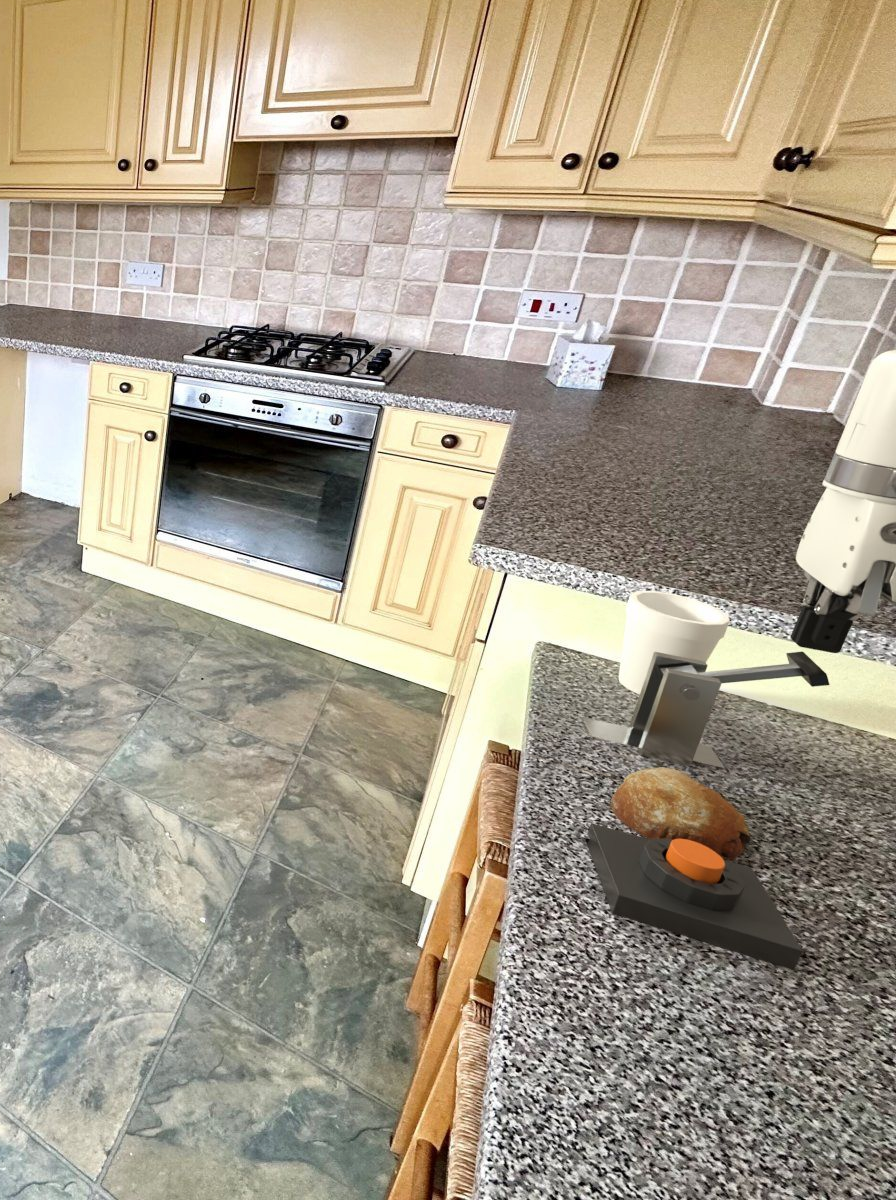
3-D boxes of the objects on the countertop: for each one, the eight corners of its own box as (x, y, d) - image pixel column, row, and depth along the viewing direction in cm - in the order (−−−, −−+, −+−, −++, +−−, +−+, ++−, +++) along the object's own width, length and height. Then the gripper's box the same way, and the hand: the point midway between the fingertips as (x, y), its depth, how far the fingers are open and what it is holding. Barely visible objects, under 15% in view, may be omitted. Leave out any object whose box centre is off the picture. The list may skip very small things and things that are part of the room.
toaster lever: (807, 666, 83) (801, 646, 83) (831, 690, 79) (825, 668, 79) (661, 680, 89) (655, 662, 89) (676, 703, 85) (670, 683, 85)
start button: (710, 862, 71) (716, 847, 70) (726, 890, 68) (732, 874, 67) (659, 848, 73) (665, 833, 72) (672, 874, 69) (678, 859, 69)
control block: (744, 885, 73) (758, 852, 72) (794, 971, 64) (811, 934, 63) (584, 840, 78) (595, 808, 77) (611, 913, 70) (624, 878, 68)
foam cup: (601, 667, 109) (627, 584, 105) (689, 689, 104) (720, 603, 100) (606, 698, 102) (635, 610, 98) (701, 724, 97) (736, 632, 93)
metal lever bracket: (706, 756, 91) (742, 661, 87) (737, 804, 83) (779, 702, 79) (579, 726, 96) (607, 635, 92) (597, 769, 89) (629, 671, 85)
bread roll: (626, 817, 86) (604, 749, 86) (757, 830, 79) (733, 754, 79) (615, 866, 80) (592, 791, 80) (757, 884, 72) (731, 802, 72)
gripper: (996, 510, 67) (908, 693, 73) (895, 465, 79) (827, 624, 85) (873, 495, 70) (798, 671, 76) (795, 455, 83) (736, 608, 88)
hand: (813, 646), depth 80 cm, fingers closed
